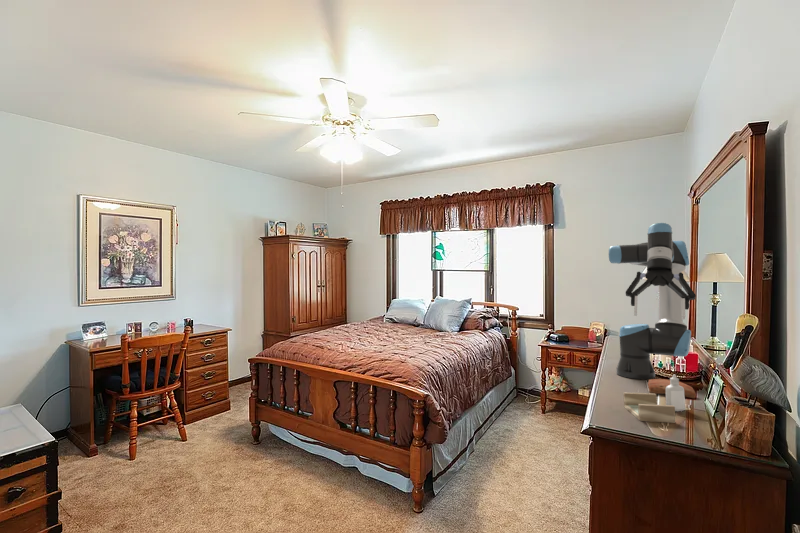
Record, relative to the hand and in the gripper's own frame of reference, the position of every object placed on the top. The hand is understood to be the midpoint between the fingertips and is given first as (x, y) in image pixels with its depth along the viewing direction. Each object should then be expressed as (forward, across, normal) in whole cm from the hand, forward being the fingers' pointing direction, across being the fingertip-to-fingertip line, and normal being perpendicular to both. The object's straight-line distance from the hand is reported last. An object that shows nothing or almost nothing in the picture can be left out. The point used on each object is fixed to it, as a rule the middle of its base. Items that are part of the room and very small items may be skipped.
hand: (658, 316), depth 130 cm
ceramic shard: (+16, +5, +39) cm, 43 cm away
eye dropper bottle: (+27, +6, +18) cm, 33 cm away
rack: (+31, -2, +10) cm, 33 cm away
